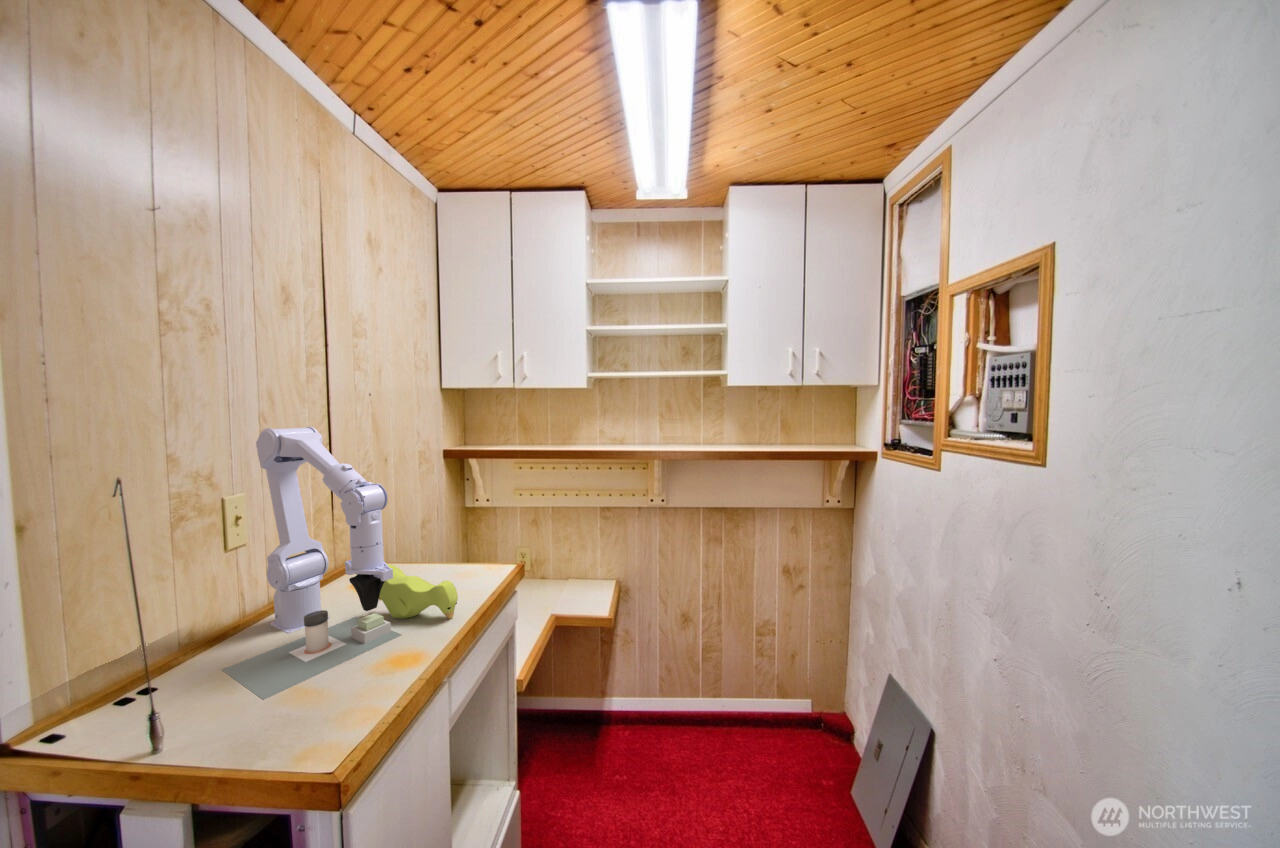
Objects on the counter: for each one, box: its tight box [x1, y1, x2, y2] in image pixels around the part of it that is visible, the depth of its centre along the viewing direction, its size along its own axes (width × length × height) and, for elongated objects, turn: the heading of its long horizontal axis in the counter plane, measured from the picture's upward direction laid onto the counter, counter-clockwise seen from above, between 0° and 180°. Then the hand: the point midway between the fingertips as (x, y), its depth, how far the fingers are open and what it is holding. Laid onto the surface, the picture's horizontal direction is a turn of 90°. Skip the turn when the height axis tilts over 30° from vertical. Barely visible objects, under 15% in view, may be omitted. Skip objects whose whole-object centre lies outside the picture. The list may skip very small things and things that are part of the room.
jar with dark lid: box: [304, 609, 329, 653], centre depth 85 cm, size 4×4×7 cm
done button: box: [358, 612, 385, 631], centre depth 90 cm, size 3×3×2 cm
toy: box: [378, 563, 459, 620], centre depth 99 cm, size 6×17×20 cm
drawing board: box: [221, 616, 403, 701], centre depth 85 cm, size 18×23×2 cm
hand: (370, 608), depth 90 cm, fingers closed
